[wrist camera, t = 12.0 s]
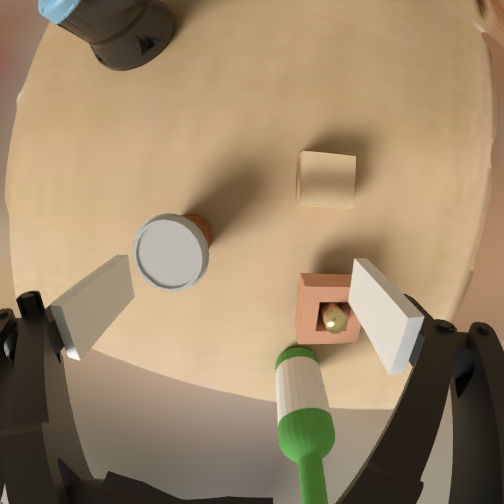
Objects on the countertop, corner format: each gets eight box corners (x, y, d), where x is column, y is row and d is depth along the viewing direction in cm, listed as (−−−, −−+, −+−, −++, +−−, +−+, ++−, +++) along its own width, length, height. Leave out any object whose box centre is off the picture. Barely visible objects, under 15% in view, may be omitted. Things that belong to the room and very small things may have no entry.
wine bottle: (320, 369, 47) (352, 508, 18) (281, 380, 48) (289, 521, 19) (311, 339, 45) (347, 493, 17) (269, 351, 46) (271, 507, 18)
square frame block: (300, 273, 39) (305, 286, 34) (357, 274, 39) (369, 287, 34) (294, 326, 41) (298, 344, 37) (348, 325, 41) (357, 342, 36)
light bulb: (303, 272, 42) (314, 300, 33) (345, 273, 42) (366, 300, 32) (299, 312, 44) (308, 346, 34) (339, 312, 44) (356, 344, 34)
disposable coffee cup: (230, 215, 40) (217, 231, 29) (212, 272, 43) (194, 306, 31) (172, 196, 40) (139, 204, 28) (157, 252, 42) (124, 279, 31)
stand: (297, 154, 37) (303, 150, 32) (343, 158, 37) (356, 156, 31) (295, 201, 39) (301, 205, 34) (340, 204, 39) (353, 209, 33)
